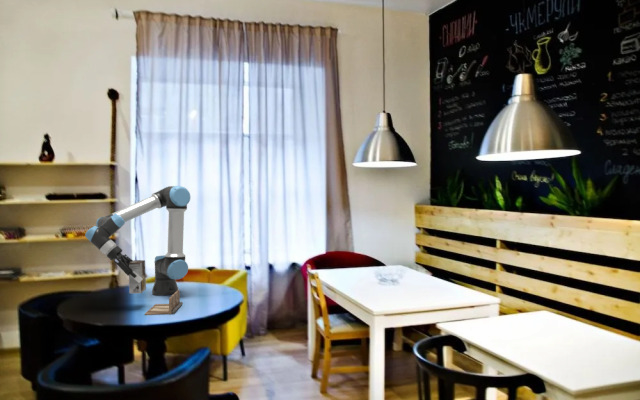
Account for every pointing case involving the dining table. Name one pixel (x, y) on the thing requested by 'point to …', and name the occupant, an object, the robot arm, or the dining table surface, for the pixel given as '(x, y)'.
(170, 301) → the hinge bracket
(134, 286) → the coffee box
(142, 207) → the robot arm
